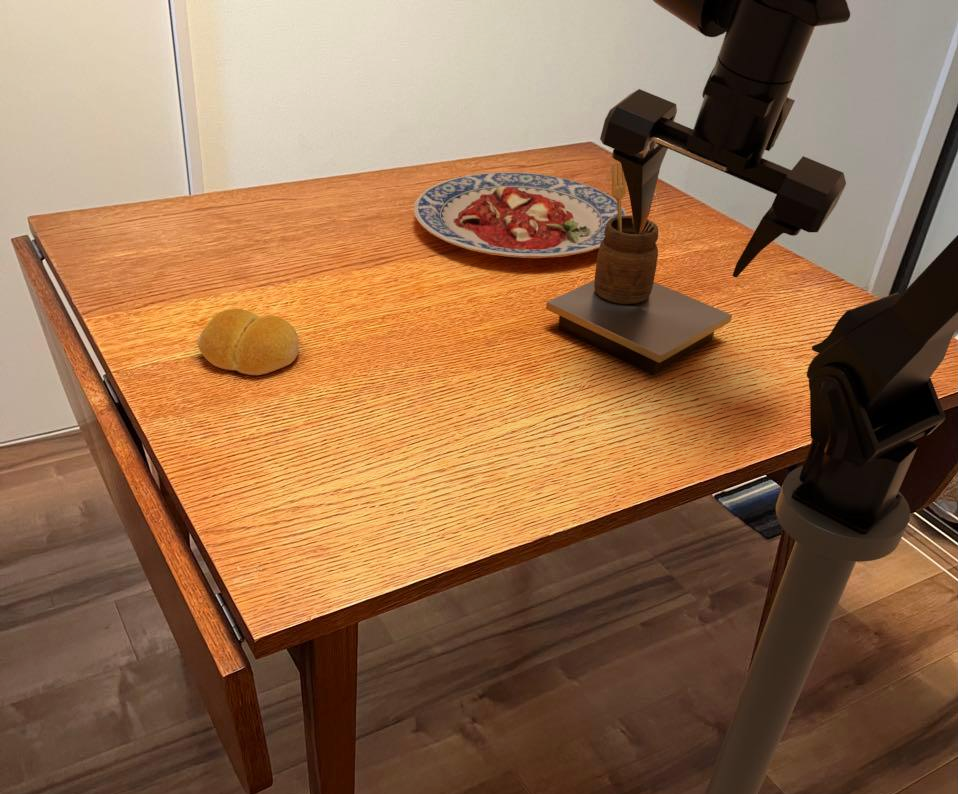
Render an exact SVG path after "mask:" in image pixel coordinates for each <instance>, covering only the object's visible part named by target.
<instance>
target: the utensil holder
mask: <svg viewBox="0 0 958 794" xmlns="http://www.w3.org/2000/svg"><path fill="white" fill-rule="evenodd" d="M626 188H627V184H626V180H625V177H624V173H623V169H622V168H621V163H620V162H619V161H617V162H616V164H615V162H612V164H611V197H612V198H613V199H615V200H616V201H617V215H618V217H614V218H611V219H610V220H609V221H608V222H607V224H606V227H605V230H604V235H605V238H604V239H603V240H602V242H601V244H600V246H599V248H598V251H597V257H596V263H595V272H594V273H595V274H594V287H595V291H596V293H597V294H598V295H599V296H600V297H602V298H603V299H605V300H607V301H610V302H614V303H619V304H636V303H640V302H642V301H644V300H646V299H647V298H648V297H649V296H650V294H651V291H652V287H653V283H654V282H655V278H656V273H657V265H658V258H659V249H658V244H657V242H658V240H659V227H658V225H657V224H656V221H657V220H658V217H659V214H660V212H661V208H662V205H660V206H659V209H658V205H659V204H658V203H659V201H660V200H662V198H661V196H660V194H659V192H658V191H656V190H655V192H654V197H655V198H656V205H655V207H654V208H655V210H654V211H653V214H652V217H651V219H647V221H646V224H645V227H644V229H643V231H642V232H641V233H640V234H638V233H636V232H635V229H634V222H633V216H632V215H627V216H621V206H622V199H623V198H624V197H625V196H626V193H627V189H626ZM657 196H658V197H657ZM657 210H658V213H657ZM656 213H657V216H656ZM655 217H656V219H655ZM654 220H655V221H654Z"/></svg>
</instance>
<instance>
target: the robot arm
mask: <svg viewBox="0 0 958 794" xmlns="http://www.w3.org/2000/svg"><path fill="white" fill-rule="evenodd" d="M652 1H653V2H654V3H655V4H656V5H658V6H659V7H661V8H662V9H664V11H667V12H668V13H669V14H671V15H672V16H674V17H676V18H677V19H679V20H680V21H682V22H683V23H685V24H686V25H688V26H689V27H690V28H692V29H694V30H695V31H697V32H698V33H700V34H701V35H703V36H705V37H708V38H716V37H719V36H721V35H723V34H725V35H724V37H723V41H722V44H721V46H720V49H719V53H718V55H717V58H716V61H715V63H714V66H713V68H712V70H711V72H710V73H709V76H708V78H707V81H706V83H705V85H704V87H703V90H702V98H703V99H702V103H701V106H700V108H699V112H698V114H697V117H696V120H695V123H694V126H693V128H691V127H688V126H687V125H683V124H681V123H679V122H677V121H675V119H676V116H677V112H678V108H677V103H675V102H672V101H671V100H667V99H665V98H663V97H660V96H658V95H655V94H652V93H650V92H648V91H646V90H643V89H640V88H638V89H637V90H635V91H633V92H631V93H630V94H628V95H627V96H626V97H624V98H623V99H622V100H620V101H619V102H618V103H617V104H616V105H614V106H613V107H612V108H611V109H609V111H608V112H607V114H606V117H605V118H604V122H603V126H602V129H601V132H600V133H601V134H600V137H599V141H600V142H601V143H602V144H603V145H604V146H606V147H609V148H611V149H613V150H612V154H611V156H612V158H613V159H614V160H615V161H617V162H619V163H620V167H621V170H622V169H623V173H624V177H625V184H626V188H627V191H628V195H629V202H630V208H631V209H630V210H631V216H633V222H634V229H635V232H636V233H638V234H640V233H641V232H642V231H643V229H644V227H645V224H646V221H647V219H648V218H649V216H650V213H651V208H652V205H653V200H654V197H655V194H654V192H655V191H656V188H657V184H658V180H659V175H660V171H661V167H662V164H663V161H664V159H665V157H666V154H667V151H668V150H671V151H673V152H675V153H678V154H680V155H683V156H685V157H687V158H689V159H692V160H694V161H696V162H699V163H702V164H704V165H706V166H708V167H710V168H713V169H716V170H718V171H720V172H723V173H725V174H727V175H729V176H732V177H734V178H737V179H739V180H741V181H744V182H746V183H749V184H751V185H753V186H755V187H759V188H760V189H762V190H765V191H768V192H769V193H772V194H775V197H774V200H773V201H772V204H771V206H770V207H769V209H768V210H767V211H766V213H765V214H764V215H763V216H762V218H761V219H760V221H759V223H758V224H757V226H756V228H755V230H754V232H753V233H752V235H751V237H750V239H749V240H748V243H747V244H746V246H745V248H744V250H743V252H742V253H741V254H740V257H739V258H738V260H737V262H736V264H735V267H734V270H733V273H732V277H734V278H738V277H739V276H740V275H741V273H743V272H744V270H745V269H746V268H747V267H748V266H749V265H750V264H751V263H752V261H753V260H754V259H756V257H757V256H758V255H759V254H760V253H761V252H762V251H763V250H764V249H765V248H766V247H768V246H769V245H770V244H771V243H772V242H774V241H775V240H776V239H778V238H779V237H780V236H781V235H783V234H786V235H788V236H792V237H795V236H797V235H798V234H800V232H801V231H804V232H806V233H819V231H820V229H821V228H822V227H823V225H824V224H825V222H826V221H827V219H829V217H830V215H832V214H831V213H832V212H833V210H834V209H835V208H836V207H837V204H838V202H839V200H840V198H841V196H842V194H843V192H844V190H845V189H846V185H847V181H846V177H845V174H844V171H840V170H838V169H837V168H834V167H831V166H829V165H826V164H823V163H821V162H818V161H816V160H814V159H812V158H809V157H806V156H804V155H803V156H801V158H800V159H799V160H798V162H797V163H796V164H795V165H794V166H793V167H792V169H790V168H787V167H785V166H782V165H780V164H778V163H775V162H773V161H770V160H768V159H765V158H763V156H764V153H765V151H767V152H770V151H771V150H772V149H773V147H774V146H775V144H776V141H777V140H778V138H779V136H780V133H781V131H782V129H783V127H784V125H785V123H786V120H787V118H788V116H789V114H790V112H791V110H792V108H793V106H794V104H795V99H792V98H791V97H788V95H789V92H790V90H791V87H792V85H793V83H794V80H795V77H796V75H797V72H798V71H799V70H798V69H799V67H800V65H801V62H802V60H803V58H804V54H805V53H806V50H807V47H808V45H809V43H810V40H811V38H812V35H813V34H814V30H815V28H816V27H822V26H828V25H835V24H843V23H846V22H848V21H849V20H850V18H851V11H850V7H849V4H848V2H847V0H652ZM655 193H656V192H655ZM648 220H649V219H648ZM957 331H958V234H957V235H956V236H955V237H954V238H953V239H952V240H951V241H950V243H948V244H947V246H946V247H945V248H944V249H943V250H942V251H941V252H940V253H939V254H938V255H937V256H936V257H935V258H934V259H933V261H931V262H930V264H929V265H928V266H927V267H926V268H925V269H924V270H923V271H922V272H921V273H920V274H919V275H918V276H917V277H916V278H915V279H914V281H913V282H912V283H910V285H909V286H908V287H907V288H906V289H905V290H904V291H903V292H902V293H901V294H900V293H899V292H895V293H892V294H889V295H887V296H884V297H881V298H878V299H875V300H873V301H870V302H867V303H864V304H862V305H859V306H856V307H853V308H850V309H848V310H846V311H845V312H844V313H843V314H842V315H841V317H840V318H839V319H838V320H837V322H836V323H835V325H834V327H833V328H832V329H831V331H830V333H829V334H828V336H827V337H826V338H824V339H823V340H822V341H821V342H819V343H817V344H814V345H812V346H811V350H812V351H813V352H815V353H818V354H816V355H815V356H814V357H813V358H812V360H811V362H810V363H809V365H808V367H807V371H806V377H807V379H808V389H809V398H810V399H809V400H810V401H809V410H810V411H809V415H810V418H809V419H810V420H809V421H810V423H809V424H810V426H809V427H810V428H809V429H810V438H811V442H810V444H809V447H808V450H807V453H806V456H805V459H804V462H803V465H802V466H803V468H802V471H801V474H800V477H799V478H800V481H801V482H803V483H802V484H801V485H800V486H799V487H798V488H796V489H795V490H794V491H793V493H792V498H793V499H794V500H796V501H798V502H799V503H801V504H803V505H805V506H807V507H809V508H811V509H813V510H815V511H817V512H819V513H821V514H822V515H824V516H826V517H828V518H830V519H832V520H834V521H836V522H838V523H840V524H842V525H844V526H846V527H847V528H849V529H851V530H853V531H855V532H857V533H859V534H863V535H864V534H867V533H869V532H870V531H871V530H872V529H873V528H874V527H875V526H876V525H877V524H878V523H879V522H880V521H881V520H882V519H883V518H884V517H885V516H886V515H887V514H888V513H890V512H891V511H892V510H893V509H894V508H895V507H896V506H897V505H898V504H899V503H900V501H901V499H902V497H901V495H900V494H898V491H899V492H900V489H901V486H902V484H903V481H904V480H905V477H906V475H907V472H908V470H909V468H910V465H911V463H912V460H913V458H914V457H915V454H916V452H917V449H918V445H917V443H915V442H914V441H917V440H919V439H920V438H922V437H927V436H929V435H931V434H932V433H933V432H934V431H935V430H936V429H937V428H938V427H939V426H940V425H941V424H942V423H944V421H945V420H946V414H945V411H944V409H943V406H942V404H941V401H940V399H939V397H938V394H937V392H936V391H937V390H936V389H935V385H934V384H933V380H932V378H931V377H932V376H933V374H934V373H935V372H936V370H937V369H938V367H940V365H941V364H942V362H943V361H944V360H945V357H946V354H947V352H948V350H949V346H950V344H951V341H952V338H953V337H954V335H955V333H956V332H957Z"/></svg>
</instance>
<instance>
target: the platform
mask: <svg viewBox="0 0 958 794" xmlns="http://www.w3.org/2000/svg"><path fill="white" fill-rule="evenodd" d="M594 280H595V279H594ZM594 280H592V281H591V280H590V281H589V282H586V283H584V284H583V285H581V286H579V287H575V288H574V289H572V290H569V291H567V292H565V293H563V294H561V295H558V296H557V297H555V298H552V299H550V300H548V301H546V305H545V309H546V310H547V311H549V312H551V313H554V314H555V315H558V326H557V330H558V331H560V332H562V333H564V334H566V335H569V336H571V337H573V338H575V339H577V340H579V341H580V342H583V343H585V344H586V345H589V346H591V347H593V348H595V349H597V350H599V351H601V352H604V353H606V354H608V355H610V356H612V357H614V358H616V359H618V360H620V361H622V362H624V363H627V364H628V365H630V366H632V367H634V368H636V369H638V370H641V371H643V372H645V373H647V374H649V375H651V376H655V375H657V374H659V373H660V372H662V371H664V370H665V369H667V368H669V367H670V366H673V365H674V364H677V362H679V361H681V360H683V359H684V358H686V357H688V356H690V355H691V354H693V353H694V352H696V351H698V350H701V348H703V347H705V346H707V345H708V344H710V343H711V342H713V338H714V334H715V332H716V331H718V330H719V329H721V328H723V327H725V326H727V325H728V324H730V323H731V321H732V317H733V315H732V314H731V313H729V312H726V311H725V310H723V309H719V308H717V307H715V306H712V305H710V304H707V303H705V302H702V301H700V300H697V299H695V298H693V297H691V296H688V295H686V294H683V293H681V292H679V291H676V290H674V289H672V288H669V287H668V286H667V287H666V286H665V285H662V284H660V283H657V282H655V281H654V283H653V287H652V291H651V294H650V296H649V297H648V298H647V299H646V300H644V301H642V302H640V303H636V304H619V303H614V302H610V301H607V300H605V299H603V298H602V297H600V296H599V295H598V294H597V293H596V291H595V287H594Z"/></svg>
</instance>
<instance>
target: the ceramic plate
mask: <svg viewBox="0 0 958 794" xmlns="http://www.w3.org/2000/svg"><path fill="white" fill-rule="evenodd" d="M413 205H414V206H413V211H414V216H415V219H416V220H417V222H418V223H419V224H420V226H421V227H422V228H423V229H424V230H426V231H427V232H428V233H429V234H431V235H432V236H434V237H436V238H438V239H440V240H442V241H444V242H446V243H448V244H451V245H453V246H457V247H459V248H463V249H466V250H468V251H472V252H476V253H477V252H478V253H483V254H486V255H492V256H500V257H507V258H508V257H509V258H524V259H543V258H544V259H545V258H562V257H569V256H573V255H578V254H584V253H588V252H592V251H594V250H599V246H600V244H601V242H602V240H603V239H604V238H605V235H604V230H605V227H606V224H607V222H608V221H609V220H610V219H611V218H614V217H618V215H617V199H615V198H614V197H613V196H612V195H609V194H607V193H605V192H603V191H601V190H600V189H597V188H595V187H593V186H590V185H588V184H585V183H582V182H579V181H576V180H571V179H568V178H563V177H559V176H554V175H549V174H542V173H541V174H540V173H534V172H533V173H532V172H516V171H515V172H514V171H513V172H512V171H511V172H510V171H499V172H496V171H495V172H484V173H483V172H482V173H474V174H468V175H467V174H466V175H463V176H458V177H454V178H449V179H447V180H444V181H440V182H439V183H436V184H434V185H432V186H430V187H429V188H426V190H424V191H423V192H421V194H420V195H419V196H418V197H417V199H416V200H415V202H414V204H413ZM621 216H628V214H627V212H626V209H625V208H624V207H623V206H622V205H621Z"/></svg>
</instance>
